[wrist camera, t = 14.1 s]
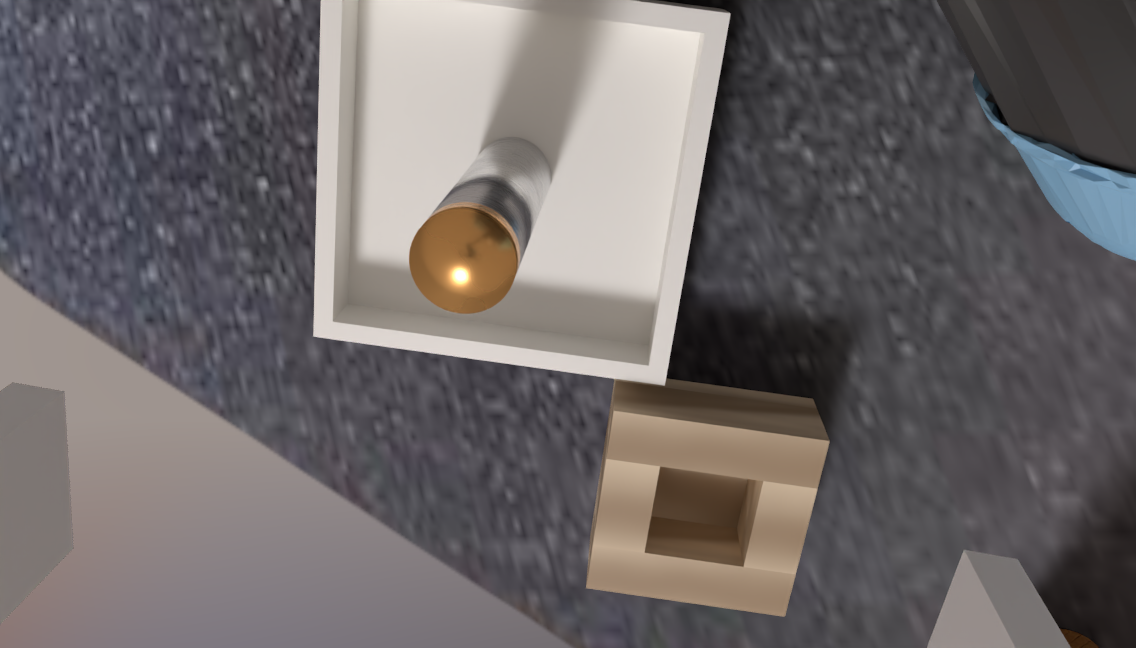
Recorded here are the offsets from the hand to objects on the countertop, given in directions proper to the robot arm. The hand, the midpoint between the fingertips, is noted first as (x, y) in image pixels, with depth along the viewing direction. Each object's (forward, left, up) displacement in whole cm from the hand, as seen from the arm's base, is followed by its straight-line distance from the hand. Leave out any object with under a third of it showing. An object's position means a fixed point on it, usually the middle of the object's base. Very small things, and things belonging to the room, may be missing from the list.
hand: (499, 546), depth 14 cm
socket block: (+14, +7, -28) cm, 31 cm away
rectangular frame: (+1, -3, -28) cm, 28 cm away
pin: (+1, -3, -27) cm, 27 cm away
